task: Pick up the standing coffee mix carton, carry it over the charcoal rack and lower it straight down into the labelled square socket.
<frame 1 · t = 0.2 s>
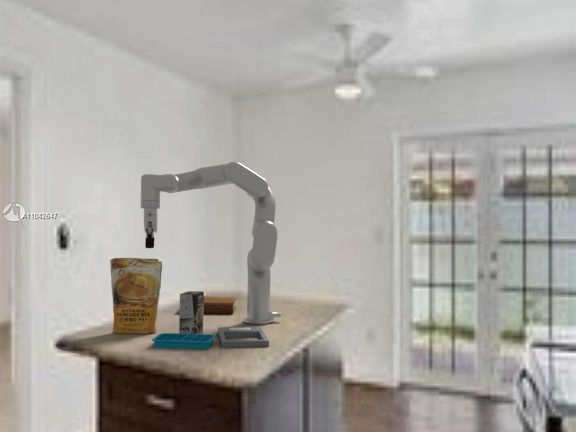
hand: (149, 247, 236), 31 cm above the countertop, tool pointing down, fingers open, 9 cm apart
pancake mix bag: (134, 332, 221), on the countertop
diary: (209, 312, 270), on the countertop
socket rack: (243, 341, 208), on the countertop
coffee box: (191, 336, 215), on the countertop
ice cube tray: (184, 346, 201), on the countertop
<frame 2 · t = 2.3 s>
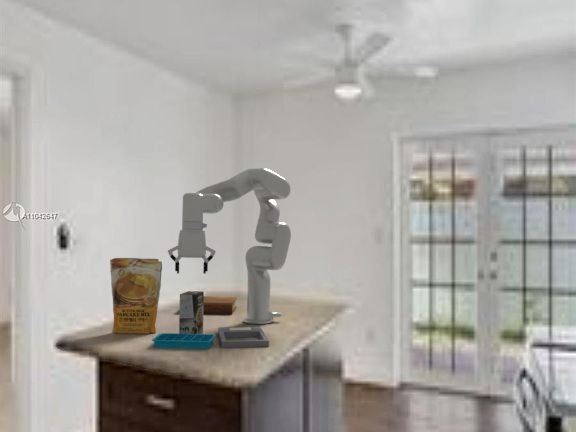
hand: (191, 273, 215), 23 cm above the countertop, tool pointing down, fingers open, 9 cm apart
nothing on the countertop moved.
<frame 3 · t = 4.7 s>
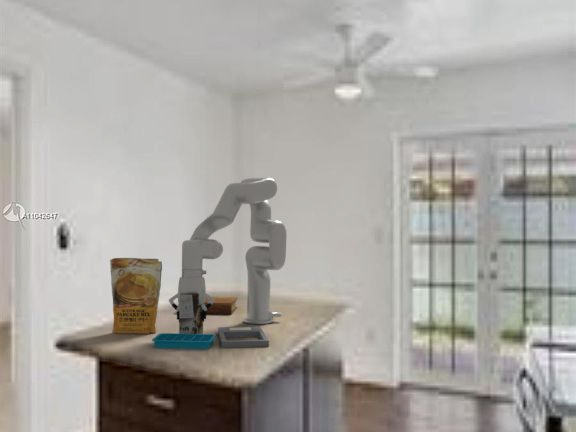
hand: (191, 321, 215), 6 cm above the countertop, tool pointing down, fingers closed on coffee box, 8 cm apart
coffee box: (191, 336, 215), on the countertop, touching gripper
everything else where it was.
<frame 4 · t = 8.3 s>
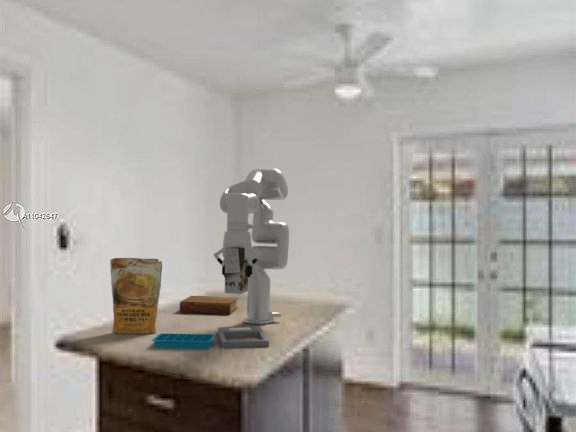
hand: (237, 276, 209), 23 cm above the countertop, tool pointing down, fingers closed on coffee box, 8 cm apart
coffee box: (236, 292, 209), point 17 cm above the countertop, touching gripper
everything else where it was.
when the fingers open (6 cm above the countertop, at t = 11.8 s): coffee box stays where it is, resting in socket rack.
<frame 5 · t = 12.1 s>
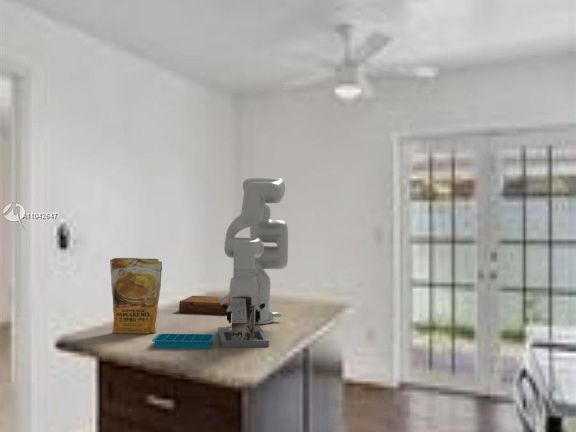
hand: (243, 322, 208), 7 cm above the countertop, tool pointing down, fingers open, 9 cm apart
coffee box: (243, 341, 208), resting in socket rack
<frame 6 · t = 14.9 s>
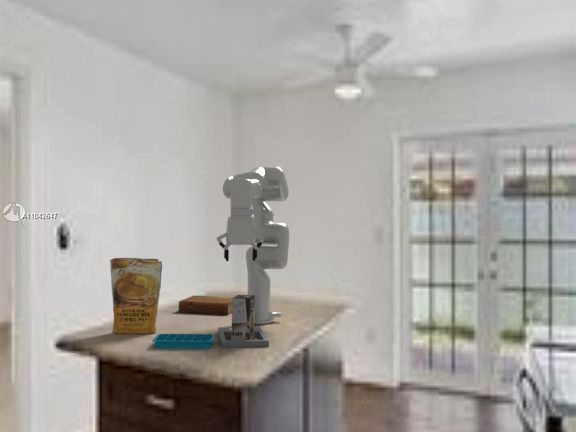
hand: (240, 260, 211), 28 cm above the countertop, tool pointing down, fingers open, 9 cm apart
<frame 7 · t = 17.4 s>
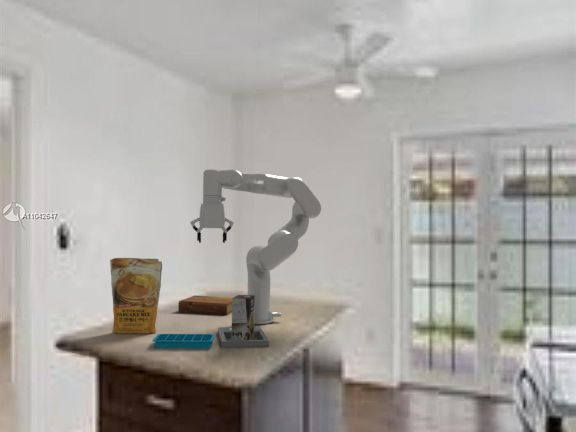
hand: (211, 242, 236), 33 cm above the countertop, tool pointing down, fingers open, 9 cm apart
at the end: coffee box 0.1 cm off-centre on the socket rack, point 0.0 cm above the socket rack's base; coffee box tilted 0°; the gripper is holding nothing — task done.
